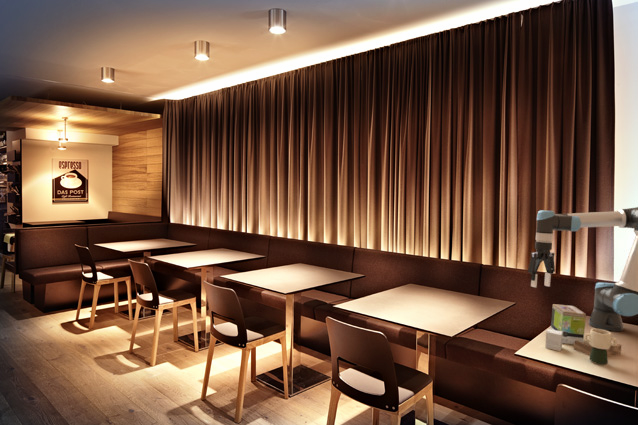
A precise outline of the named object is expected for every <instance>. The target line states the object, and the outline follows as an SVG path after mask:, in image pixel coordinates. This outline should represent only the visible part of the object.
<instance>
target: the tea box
mask: <svg viewBox="0 0 638 425" xmlns="http://www.w3.org/2000/svg"><path fill="white" fill-rule="evenodd" d="M551 308H552V309H551V321H550V329H552V330H557V331H563V338H562V344H568V345H575V341H576V340H577V341H580V342H583V343H584V342H585V340H584V337H585V328H586V317H587V314H586V313H585V312H584V311H582V310H580V309H579V308H577V306H574V305H568V304H566V305H565V304H555V303H553V304H552V307H551Z"/></svg>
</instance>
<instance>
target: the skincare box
mask: <svg viewBox="0 0 638 425" xmlns="http://www.w3.org/2000/svg"><path fill="white" fill-rule="evenodd" d="M562 338H563V331H557V330H552V329H551V328H547V330H546V331H545V347H544V348H545V349H547V350H554V351H557V352H561V351H562V348H563V343H562Z"/></svg>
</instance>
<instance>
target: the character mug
mask: <svg viewBox="0 0 638 425" xmlns="http://www.w3.org/2000/svg"><path fill="white" fill-rule="evenodd" d="M588 337H589V339H588ZM612 341H613V343H612ZM617 341H618V340H617V338H616V337H612V332H610V330H604V329H599V328H591V329H590V332H588V333H586V332H584V342H588V343H589V345H591V346H593V348H592V350H591V354H590V356H589V360H590V361H591V362H592V363H595V364H598V365H607V364H608V363H609V361H608V360H609V359H608V357H609V356H607V350H606V349H609V348H610V346H616V344H617Z"/></svg>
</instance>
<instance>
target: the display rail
mask: <svg viewBox="0 0 638 425" xmlns="http://www.w3.org/2000/svg"><path fill="white" fill-rule="evenodd" d="M573 345H574V346H573V347H574V348H573V350H574V351H576V352H579V353H582V354H584V355H587V356H589V357H590V354H591V350H592V348H593V346H591V345H590V343H585V342H584V341H583V342H580V341H577V340H576V341H575V344H573ZM622 346H623V345H622V344H619V343H616V346H610V348H609V349H606V350H607V356H608V357H610V356H612V357H613V356H618V355H621V354H622Z"/></svg>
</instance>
